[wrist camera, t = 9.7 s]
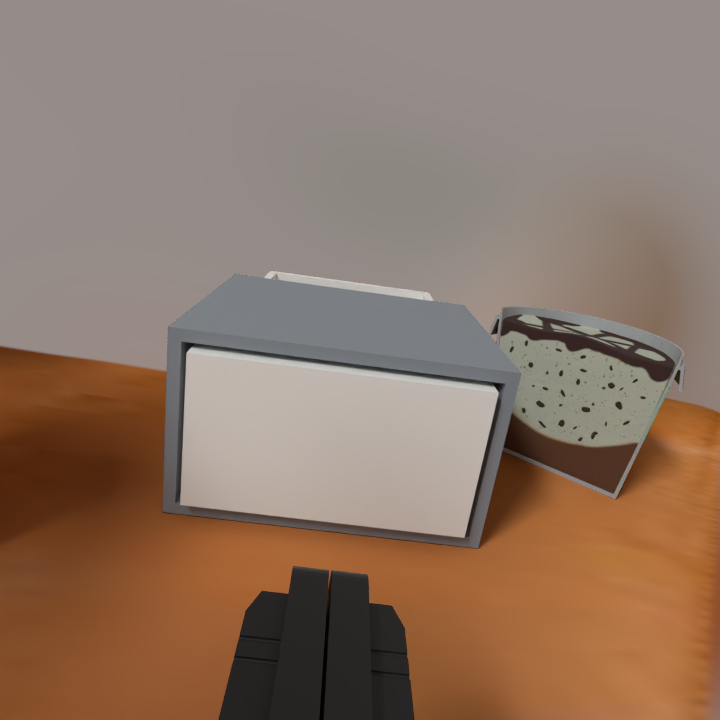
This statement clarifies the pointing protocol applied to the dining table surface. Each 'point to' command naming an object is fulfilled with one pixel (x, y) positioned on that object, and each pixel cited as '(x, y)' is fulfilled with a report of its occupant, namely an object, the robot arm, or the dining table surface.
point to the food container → (583, 392)
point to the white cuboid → (333, 436)
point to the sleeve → (340, 344)
